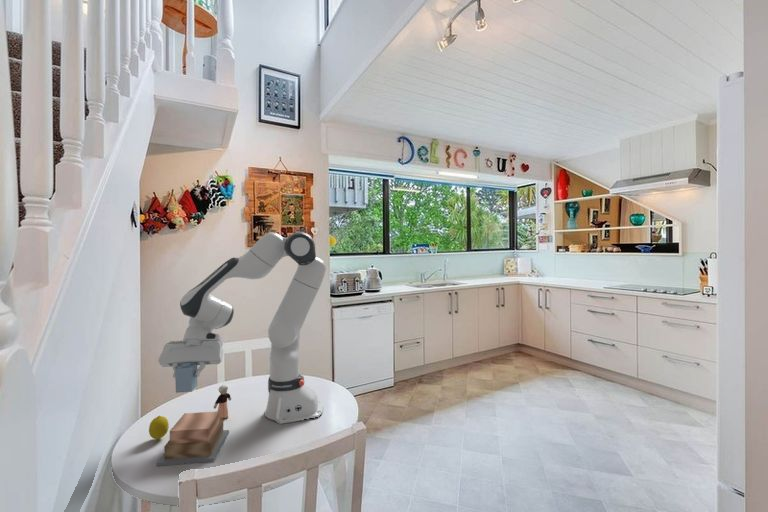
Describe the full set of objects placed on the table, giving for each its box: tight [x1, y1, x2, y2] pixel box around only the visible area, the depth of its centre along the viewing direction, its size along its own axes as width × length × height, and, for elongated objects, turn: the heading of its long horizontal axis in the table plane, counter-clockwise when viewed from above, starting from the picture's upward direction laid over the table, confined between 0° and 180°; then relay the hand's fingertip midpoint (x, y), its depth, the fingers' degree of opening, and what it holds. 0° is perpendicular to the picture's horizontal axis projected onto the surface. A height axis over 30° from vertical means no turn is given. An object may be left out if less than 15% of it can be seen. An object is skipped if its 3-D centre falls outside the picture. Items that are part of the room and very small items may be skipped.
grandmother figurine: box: [213, 384, 232, 422], centre depth 129 cm, size 8×4×13 cm, turn 168°
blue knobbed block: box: [174, 362, 199, 394], centre depth 116 cm, size 5×5×9 cm
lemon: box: [148, 415, 170, 441], centre depth 114 cm, size 6×6×8 cm
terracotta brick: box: [163, 410, 224, 459], centre depth 110 cm, size 13×13×8 cm
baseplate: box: [156, 429, 230, 467], centre depth 110 cm, size 16×16×1 cm
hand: (186, 376), depth 116 cm, fingers closed on blue knobbed block, 5 cm apart
